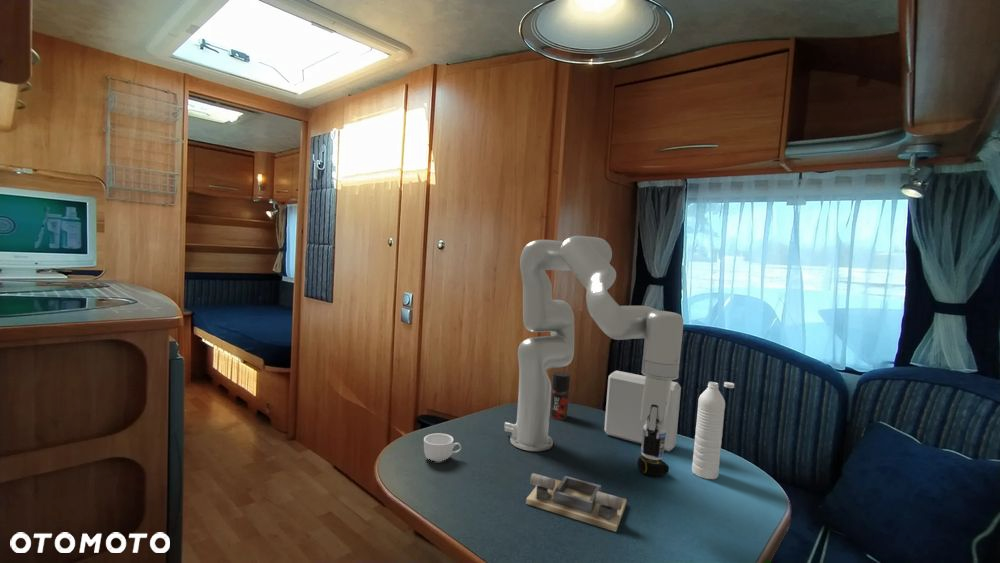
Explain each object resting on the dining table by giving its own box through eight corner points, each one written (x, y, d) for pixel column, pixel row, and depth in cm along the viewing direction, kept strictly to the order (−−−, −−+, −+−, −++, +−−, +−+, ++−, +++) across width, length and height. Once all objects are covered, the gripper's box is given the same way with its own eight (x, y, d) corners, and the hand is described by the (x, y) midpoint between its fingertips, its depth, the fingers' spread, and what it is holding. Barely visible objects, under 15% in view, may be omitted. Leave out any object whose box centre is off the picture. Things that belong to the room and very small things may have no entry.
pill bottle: (660, 462, 97) (664, 424, 97) (638, 456, 100) (641, 418, 99) (665, 454, 101) (669, 417, 101) (643, 448, 104) (647, 412, 103)
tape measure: (669, 477, 120) (670, 463, 119) (647, 480, 118) (648, 465, 117) (653, 465, 126) (654, 452, 126) (631, 467, 124) (633, 454, 124)
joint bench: (525, 503, 103) (527, 479, 102) (543, 480, 113) (545, 458, 113) (616, 532, 94) (618, 505, 94) (626, 504, 105) (628, 480, 105)
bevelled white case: (677, 445, 141) (683, 381, 139) (671, 454, 134) (677, 387, 133) (610, 427, 152) (615, 368, 151) (602, 435, 145) (607, 373, 144)
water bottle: (698, 479, 119) (707, 385, 118) (687, 467, 126) (695, 378, 124) (731, 480, 120) (740, 387, 118) (718, 469, 126) (727, 380, 124)
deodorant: (549, 418, 157) (552, 375, 156) (550, 412, 163) (553, 371, 162) (566, 420, 156) (570, 377, 155) (567, 414, 162) (570, 372, 161)
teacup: (421, 465, 118) (422, 444, 117) (424, 451, 125) (425, 432, 125) (460, 466, 118) (461, 445, 118) (460, 453, 126) (461, 433, 126)
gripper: (646, 358, 108) (639, 432, 110) (636, 374, 93) (628, 461, 94) (680, 363, 105) (673, 440, 107) (676, 381, 90) (667, 470, 91)
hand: (652, 449), depth 100 cm, fingers closed on pill bottle, 4 cm apart
